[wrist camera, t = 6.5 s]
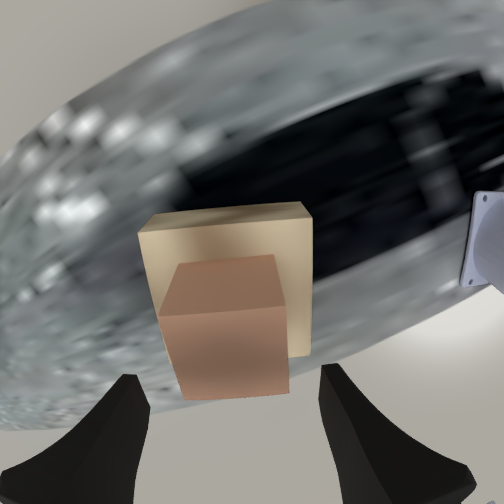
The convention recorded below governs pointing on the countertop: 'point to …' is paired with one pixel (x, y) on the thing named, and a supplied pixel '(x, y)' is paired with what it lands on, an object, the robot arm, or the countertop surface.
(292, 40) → the countertop surface
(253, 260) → the terracotta cube
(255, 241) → the birch base
